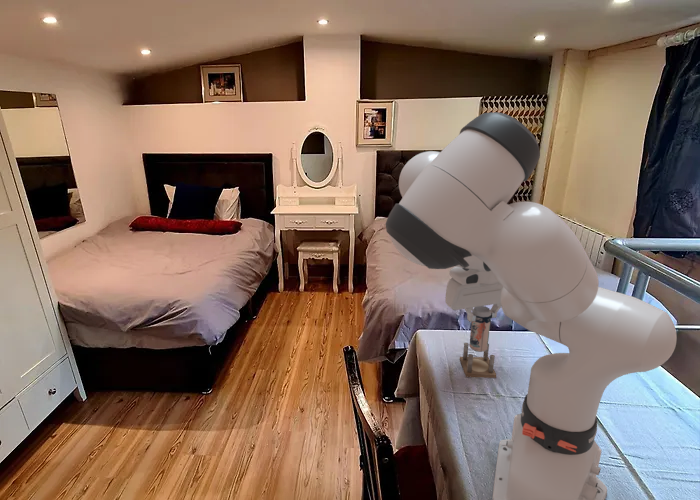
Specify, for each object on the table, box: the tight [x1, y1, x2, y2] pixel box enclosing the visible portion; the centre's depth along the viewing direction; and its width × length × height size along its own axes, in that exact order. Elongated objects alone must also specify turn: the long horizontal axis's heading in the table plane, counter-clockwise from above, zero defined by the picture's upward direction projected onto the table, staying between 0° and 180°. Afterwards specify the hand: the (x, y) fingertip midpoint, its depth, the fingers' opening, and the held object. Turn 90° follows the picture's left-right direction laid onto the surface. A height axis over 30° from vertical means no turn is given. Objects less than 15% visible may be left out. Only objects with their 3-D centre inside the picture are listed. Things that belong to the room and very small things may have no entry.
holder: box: [459, 342, 498, 379], centre depth 102 cm, size 8×8×6 cm
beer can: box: [468, 305, 492, 353], centre depth 100 cm, size 5×5×12 cm
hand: (481, 318), depth 98 cm, fingers closed on beer can, 5 cm apart
